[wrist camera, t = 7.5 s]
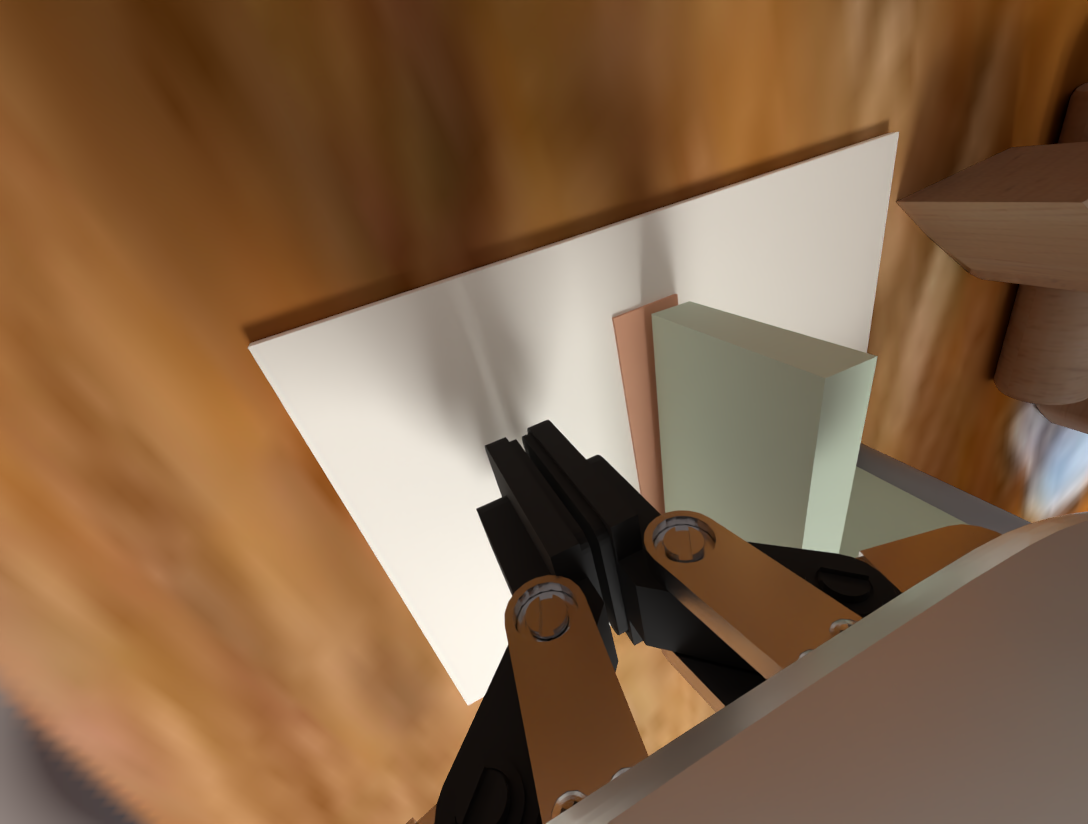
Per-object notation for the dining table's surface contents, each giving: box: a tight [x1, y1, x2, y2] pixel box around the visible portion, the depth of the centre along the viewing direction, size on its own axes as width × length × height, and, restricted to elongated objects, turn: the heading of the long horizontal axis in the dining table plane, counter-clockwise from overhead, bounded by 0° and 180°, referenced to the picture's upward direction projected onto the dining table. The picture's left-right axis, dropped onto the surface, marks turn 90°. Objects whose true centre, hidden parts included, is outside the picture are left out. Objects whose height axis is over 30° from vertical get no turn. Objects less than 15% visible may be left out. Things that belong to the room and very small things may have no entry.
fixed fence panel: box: [839, 443, 1030, 558], centre depth 16 cm, size 10×2×6 cm, turn 104°
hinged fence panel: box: [651, 301, 878, 554], centre depth 12 cm, size 8×1×5 cm, turn 11°
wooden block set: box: [896, 82, 1088, 434], centre depth 18 cm, size 17×6×18 cm
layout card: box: [248, 132, 899, 705], centre depth 15 cm, size 18×14×1 cm
